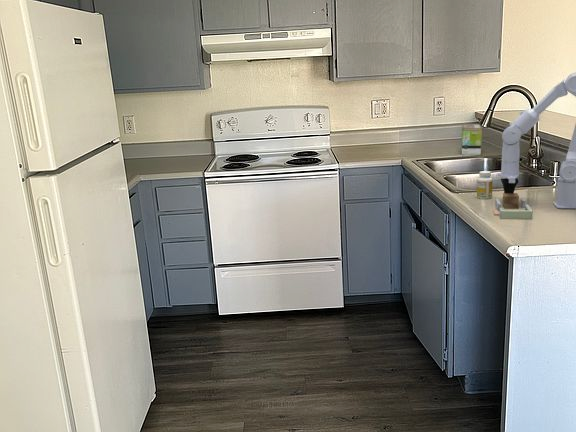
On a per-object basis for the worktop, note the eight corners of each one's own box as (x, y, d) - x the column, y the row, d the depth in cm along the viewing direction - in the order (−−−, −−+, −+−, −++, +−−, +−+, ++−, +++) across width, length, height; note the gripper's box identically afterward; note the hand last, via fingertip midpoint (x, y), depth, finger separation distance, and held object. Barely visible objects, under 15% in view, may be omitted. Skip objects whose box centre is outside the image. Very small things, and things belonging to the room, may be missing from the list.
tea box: (481, 155, 297) (482, 127, 293) (461, 155, 299) (462, 127, 296) (480, 150, 310) (481, 123, 307) (461, 150, 313) (461, 124, 309)
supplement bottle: (488, 195, 212) (489, 170, 209) (494, 198, 207) (495, 172, 204) (474, 196, 212) (475, 170, 209) (479, 199, 207) (480, 173, 204)
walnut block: (516, 205, 196) (517, 193, 195) (518, 209, 192) (518, 196, 190) (502, 205, 197) (503, 193, 196) (504, 208, 193) (504, 196, 192)
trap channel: (528, 205, 195) (528, 198, 195) (537, 219, 179) (537, 211, 178) (490, 204, 199) (490, 197, 198) (495, 218, 182) (495, 211, 181)
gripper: (496, 157, 204) (494, 194, 207) (500, 165, 190) (498, 203, 194) (516, 157, 202) (515, 194, 206) (522, 164, 188) (520, 203, 192)
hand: (508, 198), depth 200 cm, fingers closed
